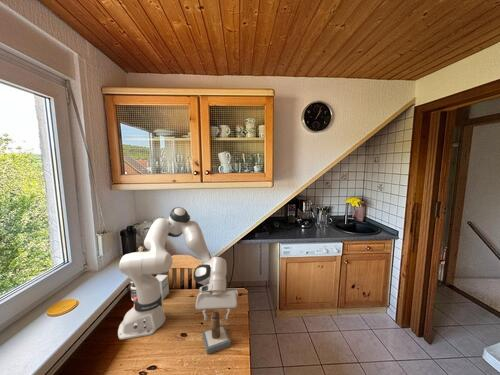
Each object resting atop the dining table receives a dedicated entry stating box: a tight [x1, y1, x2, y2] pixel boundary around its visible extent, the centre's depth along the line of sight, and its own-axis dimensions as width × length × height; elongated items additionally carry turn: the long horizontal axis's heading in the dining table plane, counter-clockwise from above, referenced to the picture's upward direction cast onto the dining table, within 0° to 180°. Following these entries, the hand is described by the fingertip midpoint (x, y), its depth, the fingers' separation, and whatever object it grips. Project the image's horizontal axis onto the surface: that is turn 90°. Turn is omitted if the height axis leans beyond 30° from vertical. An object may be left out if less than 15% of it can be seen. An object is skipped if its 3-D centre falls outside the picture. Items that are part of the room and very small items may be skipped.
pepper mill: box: [210, 311, 221, 339], centre depth 103 cm, size 4×4×11 cm
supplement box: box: [155, 274, 170, 301], centre depth 138 cm, size 7×7×13 cm
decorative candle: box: [129, 279, 137, 301], centre depth 137 cm, size 9×9×25 cm
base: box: [201, 324, 232, 355], centre depth 104 cm, size 11×11×3 cm
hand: (216, 320), depth 103 cm, fingers open, 8 cm apart
